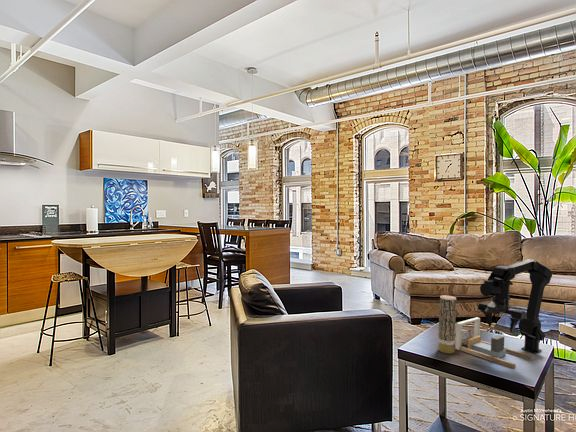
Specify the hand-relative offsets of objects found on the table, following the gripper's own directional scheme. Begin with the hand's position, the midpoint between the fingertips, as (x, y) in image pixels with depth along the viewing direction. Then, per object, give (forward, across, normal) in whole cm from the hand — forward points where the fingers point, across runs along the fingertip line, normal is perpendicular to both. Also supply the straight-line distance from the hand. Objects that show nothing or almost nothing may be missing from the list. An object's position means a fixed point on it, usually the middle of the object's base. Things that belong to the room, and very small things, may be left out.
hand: (500, 329), depth 169 cm
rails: (+12, -1, -1) cm, 12 cm away
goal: (+12, -14, -1) cm, 19 cm away
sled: (+12, -5, -1) cm, 13 cm away
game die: (+12, -16, -2) cm, 20 cm away
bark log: (+12, -16, -17) cm, 26 cm away
